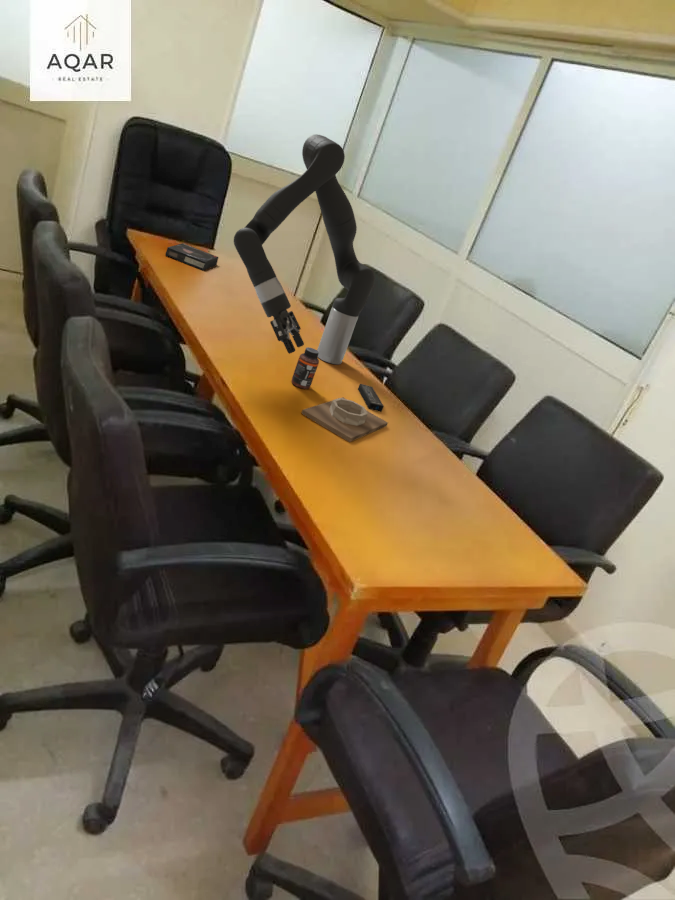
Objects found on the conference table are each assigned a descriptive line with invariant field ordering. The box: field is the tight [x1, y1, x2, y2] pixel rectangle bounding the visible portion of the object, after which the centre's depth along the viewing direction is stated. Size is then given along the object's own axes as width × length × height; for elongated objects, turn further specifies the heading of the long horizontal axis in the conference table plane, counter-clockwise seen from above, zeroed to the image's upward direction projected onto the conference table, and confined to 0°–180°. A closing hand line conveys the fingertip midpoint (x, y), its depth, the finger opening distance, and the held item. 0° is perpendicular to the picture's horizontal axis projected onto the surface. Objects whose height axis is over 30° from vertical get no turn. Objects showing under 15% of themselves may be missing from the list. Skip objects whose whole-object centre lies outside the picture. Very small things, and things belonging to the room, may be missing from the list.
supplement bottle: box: [291, 347, 320, 390], centre depth 199 cm, size 6×6×11 cm
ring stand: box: [301, 396, 389, 443], centre depth 189 cm, size 22×16×4 cm
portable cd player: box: [164, 242, 219, 271], centre depth 284 cm, size 16×17×4 cm
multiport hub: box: [357, 383, 384, 413], centre depth 210 cm, size 4×14×2 cm, turn 13°
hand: (296, 349), depth 198 cm, fingers open, 8 cm apart
